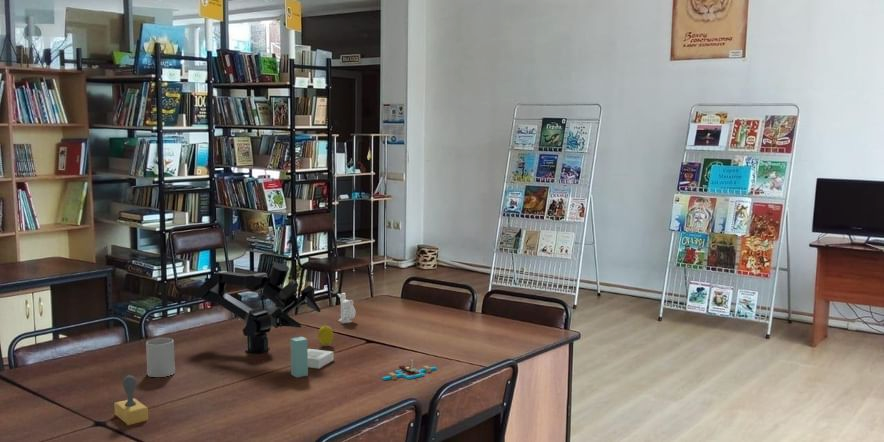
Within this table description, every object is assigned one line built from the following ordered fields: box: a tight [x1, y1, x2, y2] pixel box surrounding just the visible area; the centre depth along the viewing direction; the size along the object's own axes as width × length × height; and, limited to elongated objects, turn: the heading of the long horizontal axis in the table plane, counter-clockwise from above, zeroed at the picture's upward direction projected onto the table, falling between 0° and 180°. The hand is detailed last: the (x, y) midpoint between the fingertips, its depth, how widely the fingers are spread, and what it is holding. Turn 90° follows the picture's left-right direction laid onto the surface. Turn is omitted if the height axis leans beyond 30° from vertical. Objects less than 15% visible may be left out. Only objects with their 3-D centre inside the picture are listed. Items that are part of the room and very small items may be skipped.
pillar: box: [289, 336, 309, 378], centre depth 248 cm, size 4×4×12 cm
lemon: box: [317, 324, 334, 347], centre depth 281 cm, size 6×6×8 cm
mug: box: [145, 337, 176, 377], centre depth 250 cm, size 12×8×11 cm
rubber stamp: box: [113, 374, 149, 426], centre depth 211 cm, size 10×6×12 cm, turn 41°
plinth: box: [307, 348, 334, 369], centre depth 262 cm, size 10×10×3 cm
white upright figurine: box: [337, 292, 357, 324], centre depth 316 cm, size 8×7×12 cm
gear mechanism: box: [381, 360, 437, 381], centre depth 250 cm, size 20×5×9 cm
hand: (310, 318), depth 262 cm, fingers open, 9 cm apart
